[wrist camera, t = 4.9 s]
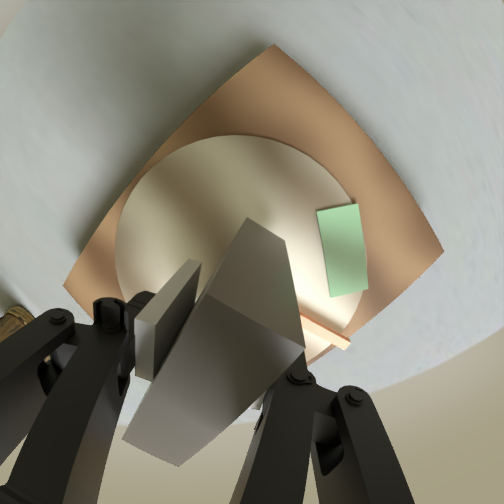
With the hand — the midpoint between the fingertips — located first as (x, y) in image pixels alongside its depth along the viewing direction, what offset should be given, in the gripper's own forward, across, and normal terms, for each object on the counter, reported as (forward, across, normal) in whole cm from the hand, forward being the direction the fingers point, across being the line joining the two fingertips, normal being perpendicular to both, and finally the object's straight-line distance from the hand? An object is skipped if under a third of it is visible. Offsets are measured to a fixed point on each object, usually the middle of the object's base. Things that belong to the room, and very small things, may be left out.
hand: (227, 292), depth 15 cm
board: (+7, 0, 0) cm, 7 cm away
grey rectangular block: (+2, +4, -1) cm, 4 cm away
